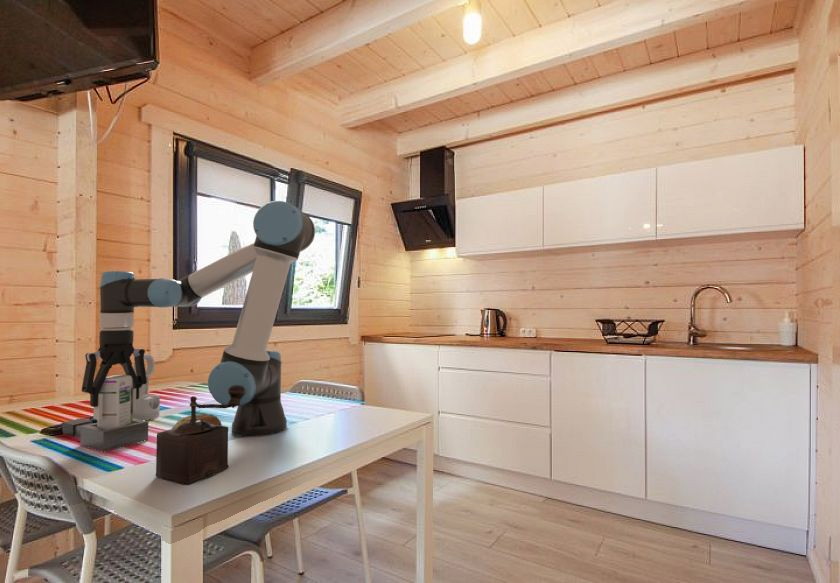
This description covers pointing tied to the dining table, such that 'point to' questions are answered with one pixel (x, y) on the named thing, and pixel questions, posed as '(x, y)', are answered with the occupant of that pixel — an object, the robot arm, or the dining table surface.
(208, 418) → the bread roll
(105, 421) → the syrup box
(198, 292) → the robot arm
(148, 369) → the engine component
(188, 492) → the dining table surface
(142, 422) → the grey storage bin
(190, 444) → the coffee grinder
